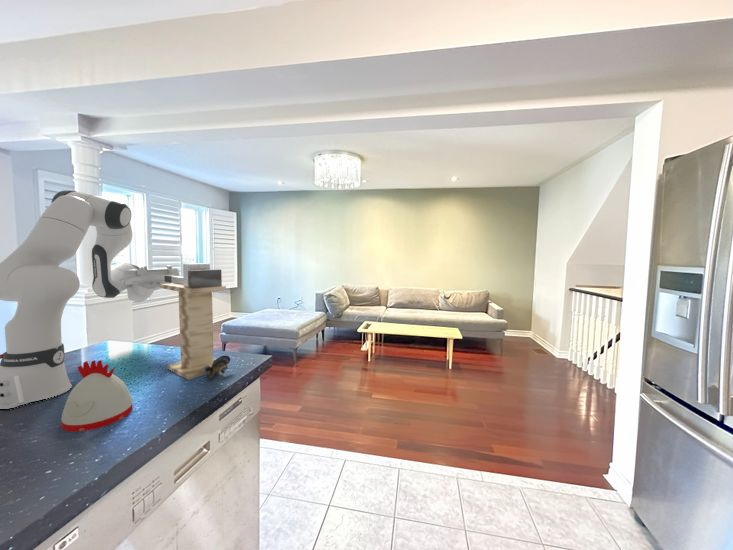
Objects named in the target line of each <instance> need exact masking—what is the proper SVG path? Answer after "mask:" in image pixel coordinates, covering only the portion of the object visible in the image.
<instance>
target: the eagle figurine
mask: <svg viewBox="0 0 733 550" xmlns="http://www.w3.org/2000/svg"><path fill="white" fill-rule="evenodd" d="M215 359H216V360H214V362H213V364H212V367H210V366H208V365H207V366H204V367H203V368H202V372H208V371H209V373H208V374H205V376H208V377H209V381H211V380H213V379H214V377H215V375H219V376H222V377H224V375H223V374H224V373H223V372H226V370H225V369H220V368H221V367H223V366H225V365H227V366H228V364H230V362H231V357H230V356H228V355H221V356H219V357H218V358H215ZM222 371H223V372H222Z"/></svg>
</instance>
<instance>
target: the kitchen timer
mask: <svg viewBox="0 0 733 550" xmlns="http://www.w3.org/2000/svg"><path fill="white" fill-rule="evenodd" d="M96 363H97V364H96ZM82 365H83V366H82ZM82 365H79V366H77V370H78V372H79V374H80V376H81V377H82V379H81V380H80V381H78V383H77V384H76V385H74V387H73V388H72V390H71V391H70V393H69V395H68V396H67V399H66V401H65V405H64V407H63V411H62V414H61V420H60V421H61V423H60V424H61V429H63V431H65V432H66V431H67V432H72V433H73V432H78V431H79V432H86V431H90V430H91V431H92V430H96V429H99V428H103V427H105V426H109V425H110V424H114V423H116V422H118V421H120V420H122V419H124V418H125V417H127V416H128V415H129V414H131V412H133V411H132V410H133V409H134V408H133V398H132V394H131V392H130V390H129V388H128V386H127V385H126V382H125V381H123V380H122V379H121V378H119V377H118V376H117V375H115V374H114V370H115V367H114V368H112V369H110V371H108V368H109V364H108V363H106V364H105V365H104V366H103V362H102V360H101V359H99V360H97V362H96V360H93V361H91V362H90V365H89V362H88V360H87V361H86V360H85V361H84V362H83V363H82Z"/></svg>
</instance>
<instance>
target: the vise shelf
mask: <svg viewBox="0 0 733 550" xmlns="http://www.w3.org/2000/svg"><path fill="white" fill-rule="evenodd" d="M222 281H223V280H222V269H219V268H218V269H210V270H188V287H186V286H184V285H183V284H176V283H170V284H160V289H164V290H169V291H174V292H178V315H179V317H178V318H179V342H180V343H179V345H180V361H177V362H174V363H170V364H167V365H166V366H167V370H168V369H169V370H168V371H170V370H171V371H170V372H172V371H173V372H172V373H174V372H175V373H174V374H175V375H177V376H180V377H181V376H182V378H183V377H184V378H183V379H185V380H187V381H189V380H192V379H196V378H198V376H199V377H201V375H202V376H204V374H205V375H206V374H207V373H208V374H210V373H209V371H208V372H202V368H203V367H204V366H207V365H208V366H210V367H212V364H213V362H214V360H216V359H217V358H214V355H215V354H214V324H213V323H214V320H213V318H214V315H213V314H214V313H213V292H221V291H223V292H224V291H226V290H227V286H226V285H222V284H223V283H222ZM226 367H227V368H228V364H227V365H225V366H223V367H221V368H220V369H221V370H224V369H227V368H226ZM223 368H224V369H223ZM195 377H196V378H195Z"/></svg>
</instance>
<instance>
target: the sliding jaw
mask: <svg viewBox="0 0 733 550" xmlns="http://www.w3.org/2000/svg"><path fill="white" fill-rule="evenodd" d="M188 270H211V264H210V263H204V262H203V263H202V262H201V263H197V262H196V263H182V274H183V275H182V276H180V275H179V276H175V275H164V276H165V282H169V283H176V284H183V285H184V286H186V287H188Z"/></svg>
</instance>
